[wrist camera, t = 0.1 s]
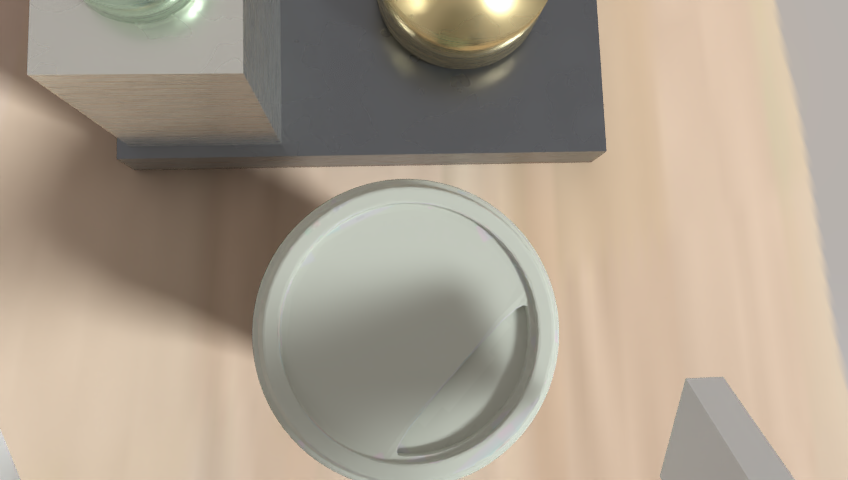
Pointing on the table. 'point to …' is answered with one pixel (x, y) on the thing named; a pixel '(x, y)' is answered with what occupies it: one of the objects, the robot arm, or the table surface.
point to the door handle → (460, 28)
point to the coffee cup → (405, 332)
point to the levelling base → (313, 85)
